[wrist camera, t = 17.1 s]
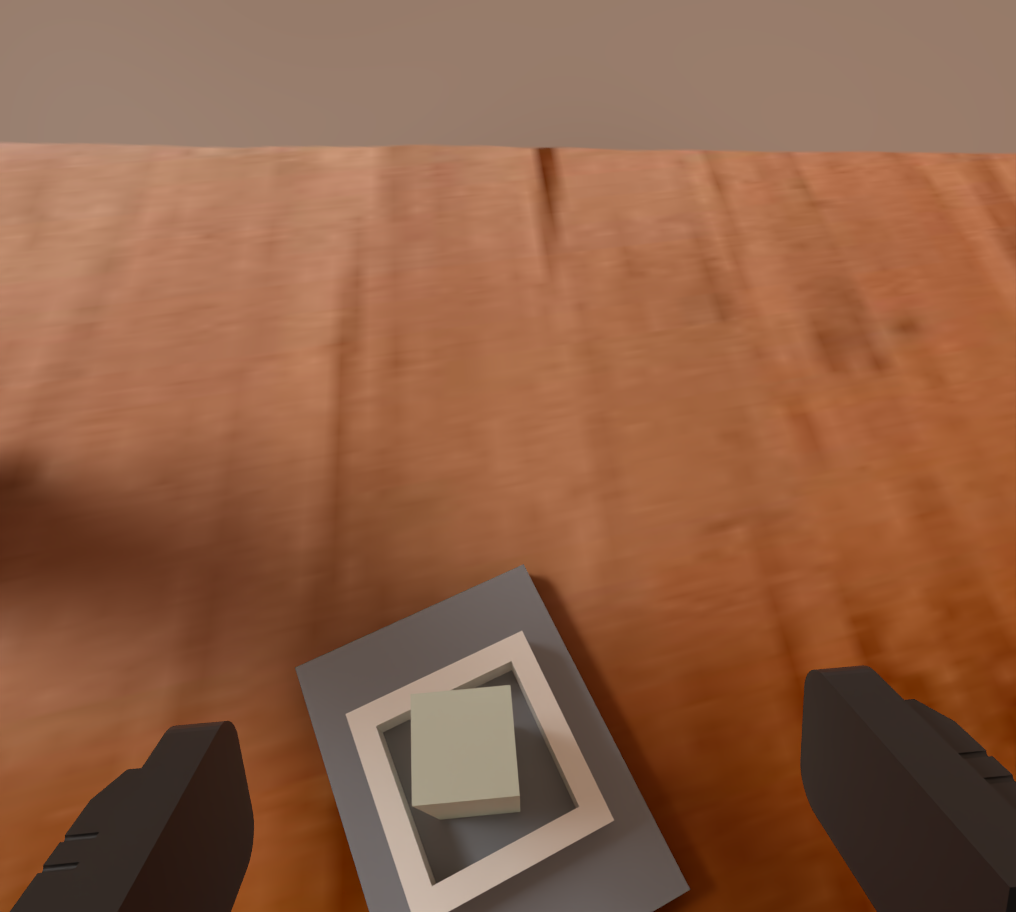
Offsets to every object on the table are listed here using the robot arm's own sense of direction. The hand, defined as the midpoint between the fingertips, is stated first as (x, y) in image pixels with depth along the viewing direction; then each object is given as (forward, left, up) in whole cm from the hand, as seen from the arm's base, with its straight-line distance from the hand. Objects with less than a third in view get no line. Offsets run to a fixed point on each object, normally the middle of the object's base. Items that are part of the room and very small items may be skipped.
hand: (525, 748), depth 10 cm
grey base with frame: (-3, -1, -29) cm, 30 cm away
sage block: (-3, -1, -28) cm, 28 cm away
